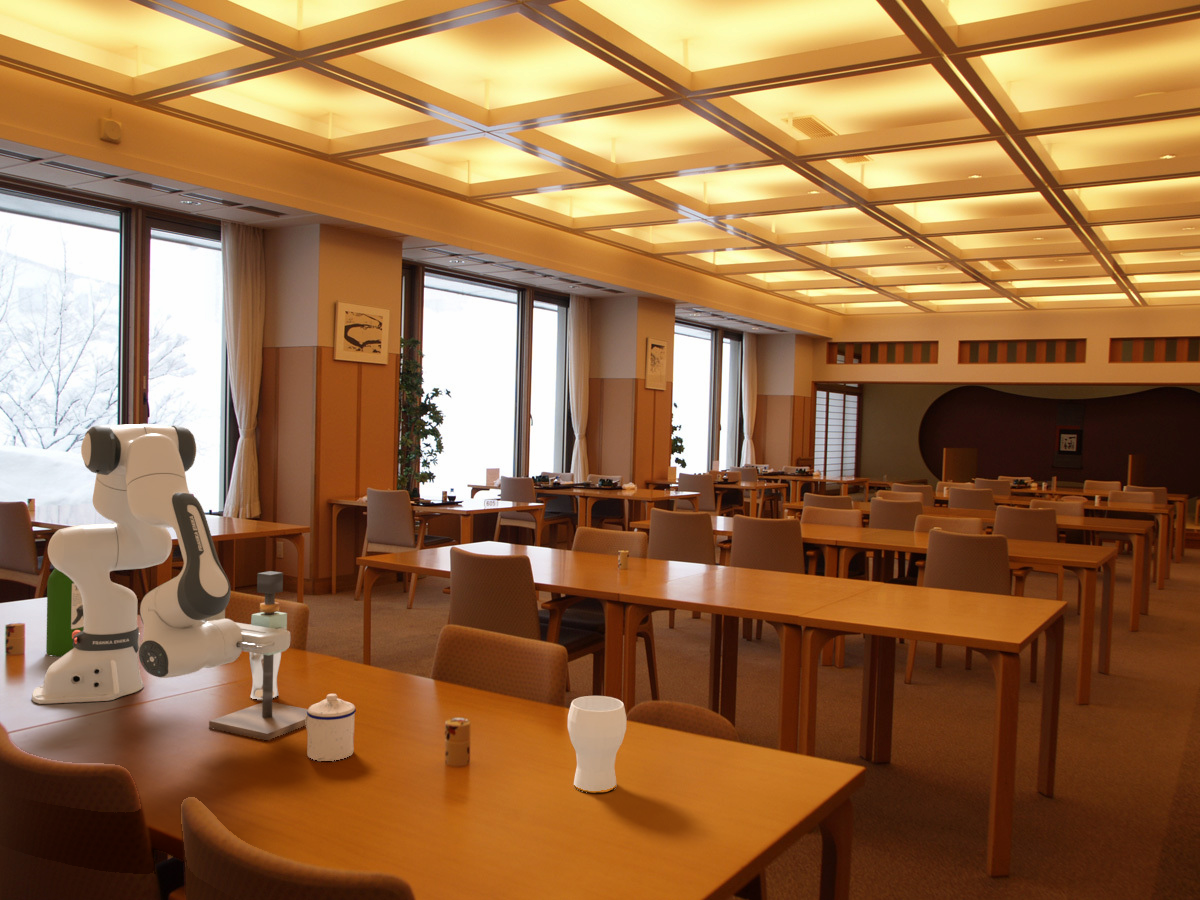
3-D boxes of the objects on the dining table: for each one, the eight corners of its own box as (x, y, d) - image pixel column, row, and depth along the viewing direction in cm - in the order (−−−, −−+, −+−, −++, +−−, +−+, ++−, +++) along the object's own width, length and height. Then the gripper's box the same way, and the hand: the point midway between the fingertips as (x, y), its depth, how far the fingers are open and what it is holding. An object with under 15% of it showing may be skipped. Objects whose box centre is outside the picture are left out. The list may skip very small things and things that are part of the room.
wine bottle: (72, 657, 242) (74, 534, 241) (38, 656, 242) (40, 533, 242) (91, 649, 251) (93, 530, 250) (59, 647, 251) (61, 529, 251)
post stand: (267, 741, 184) (270, 582, 183) (209, 728, 191) (212, 574, 190) (322, 719, 198) (326, 571, 198) (266, 707, 205) (269, 564, 204)
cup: (604, 802, 159) (607, 716, 159) (554, 788, 165) (556, 704, 164) (635, 783, 168) (637, 701, 168) (586, 770, 174) (588, 691, 173)
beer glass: (285, 693, 216) (286, 629, 216) (272, 701, 209) (273, 636, 209) (257, 691, 217) (258, 628, 217) (242, 700, 210) (244, 634, 210)
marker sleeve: (268, 655, 191) (269, 617, 191) (250, 652, 193) (251, 614, 193) (286, 650, 195) (287, 613, 195) (268, 647, 197) (269, 610, 197)
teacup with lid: (364, 753, 179) (366, 694, 179) (326, 766, 171) (327, 704, 171) (325, 739, 186) (326, 682, 186) (286, 751, 178) (287, 692, 178)
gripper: (260, 632, 178) (310, 620, 190) (184, 620, 186) (237, 609, 199) (259, 665, 178) (309, 650, 191) (183, 651, 187) (236, 638, 199)
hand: (272, 629), depth 195 cm, fingers closed on marker sleeve, 5 cm apart
